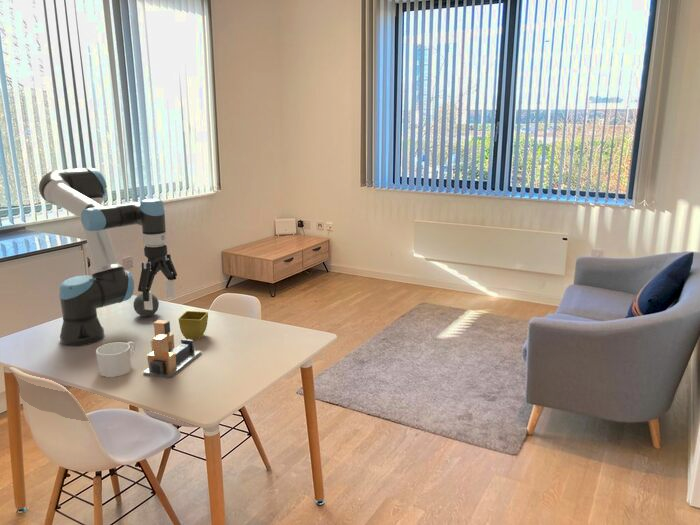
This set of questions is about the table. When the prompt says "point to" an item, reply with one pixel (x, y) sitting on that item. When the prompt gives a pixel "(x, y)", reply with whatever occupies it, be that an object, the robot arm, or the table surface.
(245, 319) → the table surface
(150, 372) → the rail base
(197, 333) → the flower pot
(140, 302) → the decorative ball
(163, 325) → the tan wooden arch block
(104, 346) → the mug
